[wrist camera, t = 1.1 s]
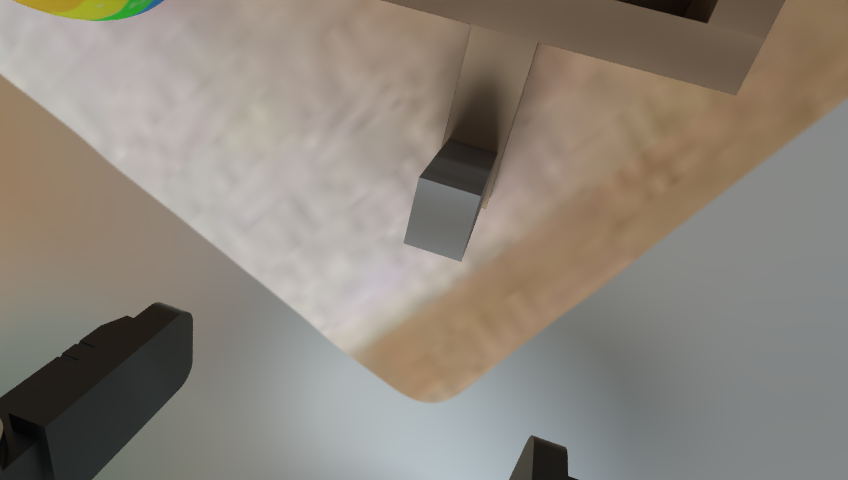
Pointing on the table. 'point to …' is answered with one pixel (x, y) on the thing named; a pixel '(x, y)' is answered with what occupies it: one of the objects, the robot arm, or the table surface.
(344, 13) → the table surface
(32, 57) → the table surface
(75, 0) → the decorative egg
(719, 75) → the frame
